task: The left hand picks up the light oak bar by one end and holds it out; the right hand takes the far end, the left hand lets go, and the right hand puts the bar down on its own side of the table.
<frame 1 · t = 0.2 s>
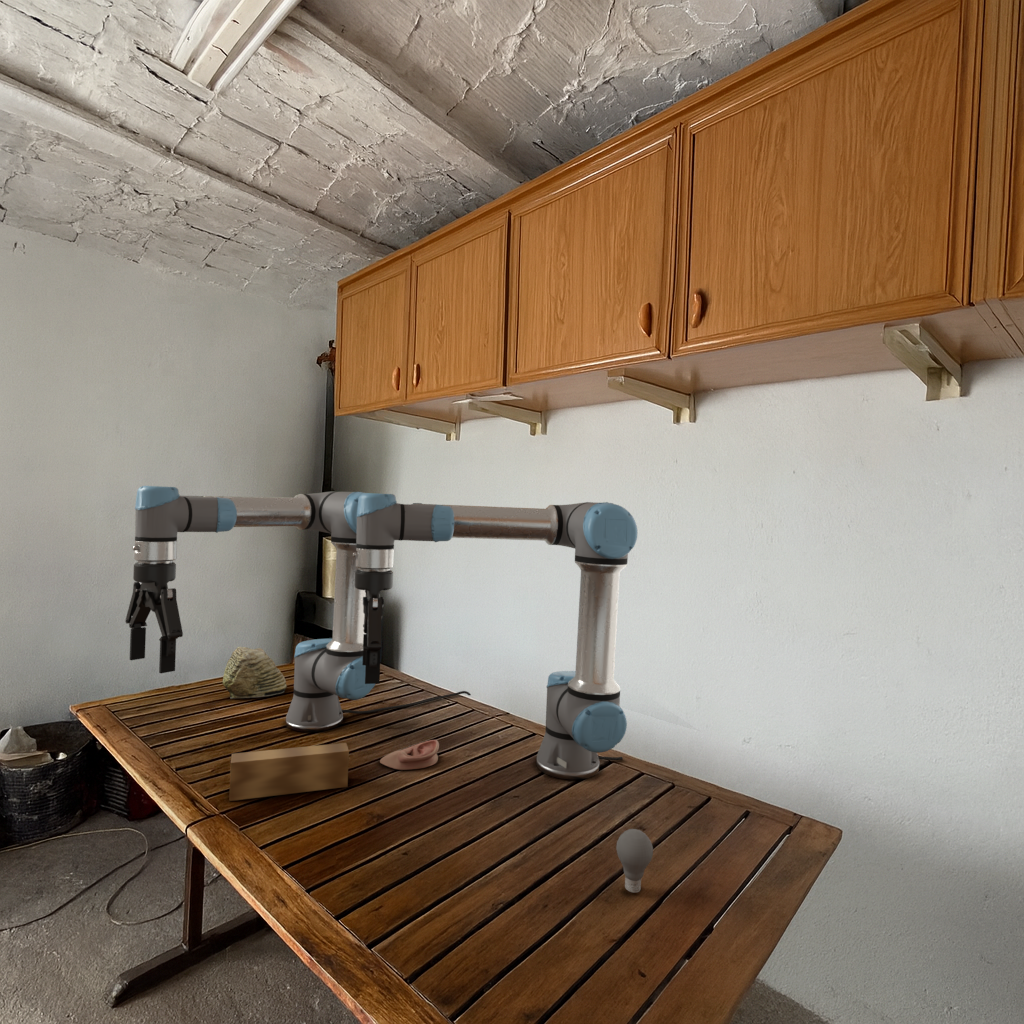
left hand: (151, 665, 129), 27 cm above the table, tool pointing down, fingers open, 13 cm apart
right hand: (370, 673, 129), 28 cm above the table, tool pointing down, fingers open, 13 cm apart
anatomical model: (409, 761, 154), on the table
bar: (289, 788, 137), on the table
fossil: (254, 694, 198), on the table
light bulb: (632, 891, 106), on the table
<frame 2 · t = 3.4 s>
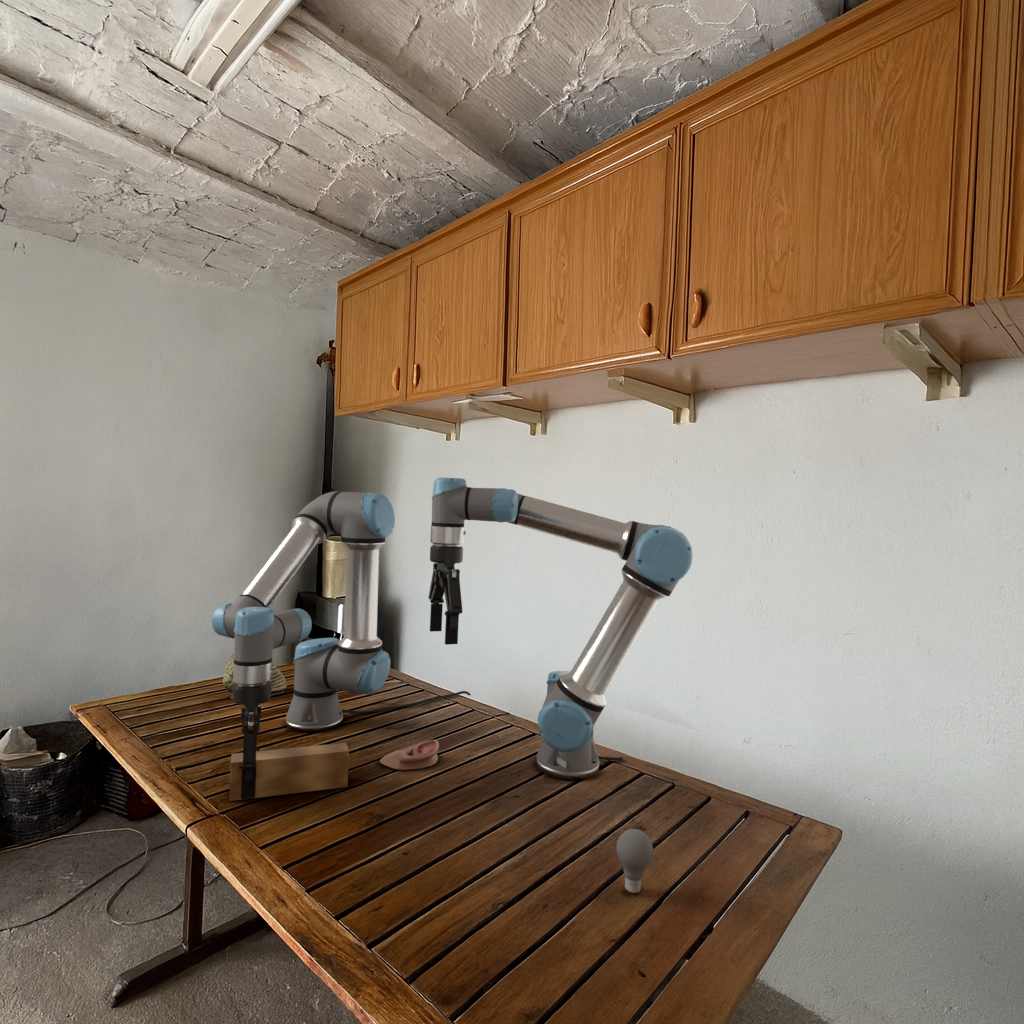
left hand: (248, 791, 134), 1 cm above the table, tool pointing down, fingers closed on bar, 5 cm apart
right hand: (443, 637, 145), 32 cm above the table, tool pointing down, fingers open, 13 cm apart
bar: (289, 788, 137), on the table, touching left hand
everything else where it was.
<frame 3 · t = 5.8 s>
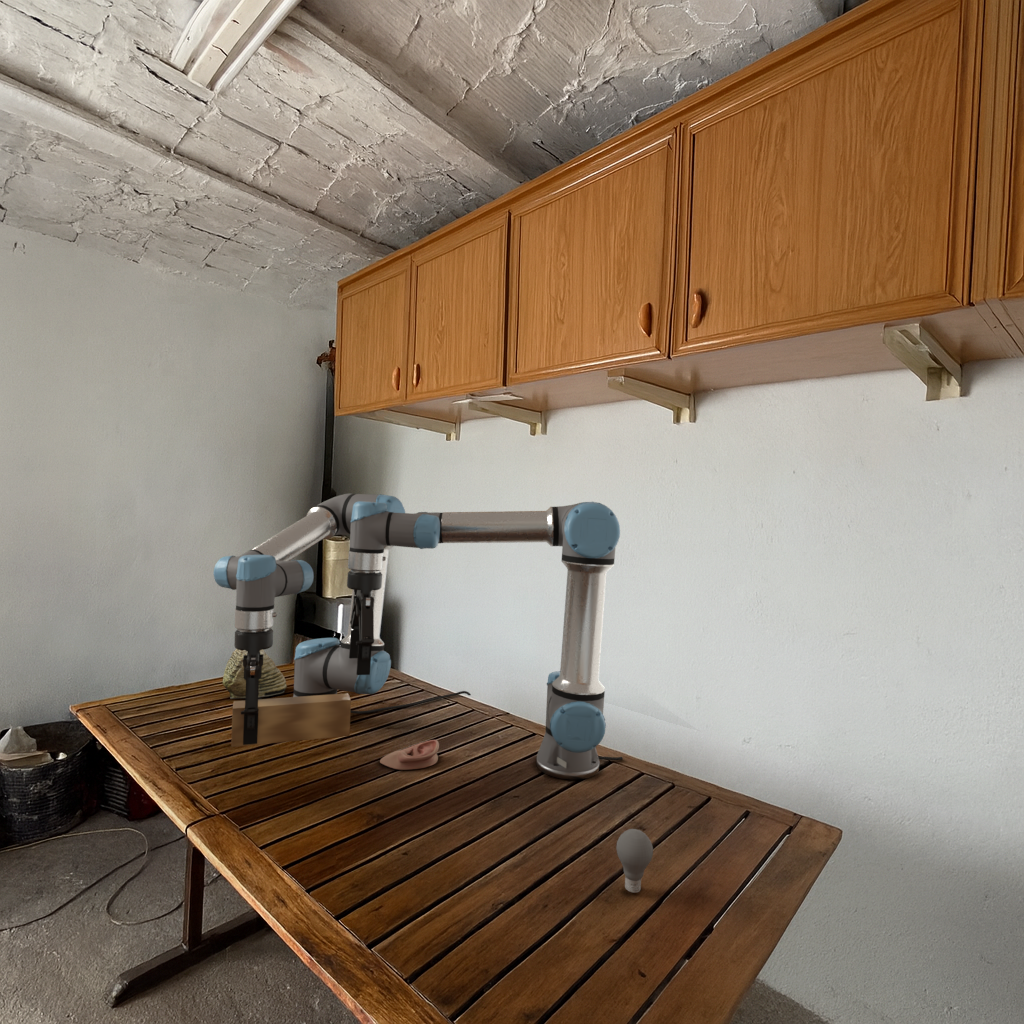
left hand: (250, 738, 134), 12 cm above the table, tool pointing down, fingers closed on bar, 5 cm apart
right hand: (359, 666, 141), 26 cm above the table, tool pointing down, fingers open, 13 cm apart
bar: (291, 737, 137), point 11 cm above the table, touching left hand
everything else where it was.
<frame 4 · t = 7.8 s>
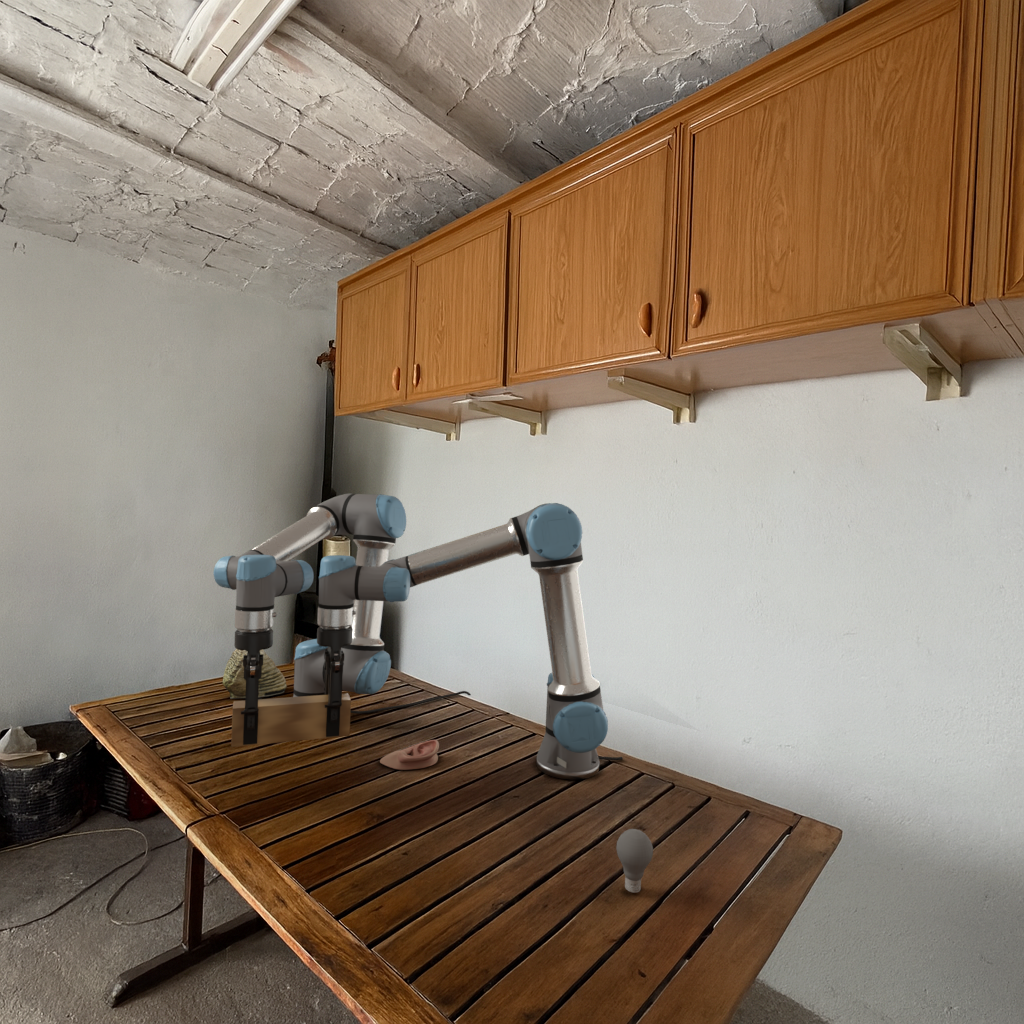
left hand: (250, 738, 134), 12 cm above the table, tool pointing down, fingers closed on bar, 5 cm apart
right hand: (331, 731, 140), 12 cm above the table, tool pointing down, fingers closed on bar, 5 cm apart
bar: (291, 737, 137), point 11 cm above the table, touching left hand, right hand
everything else where it was.
when the left hand's fingers open (12 cm above the table, at t = 8.6 s): bar stays where it is, held by the right hand.
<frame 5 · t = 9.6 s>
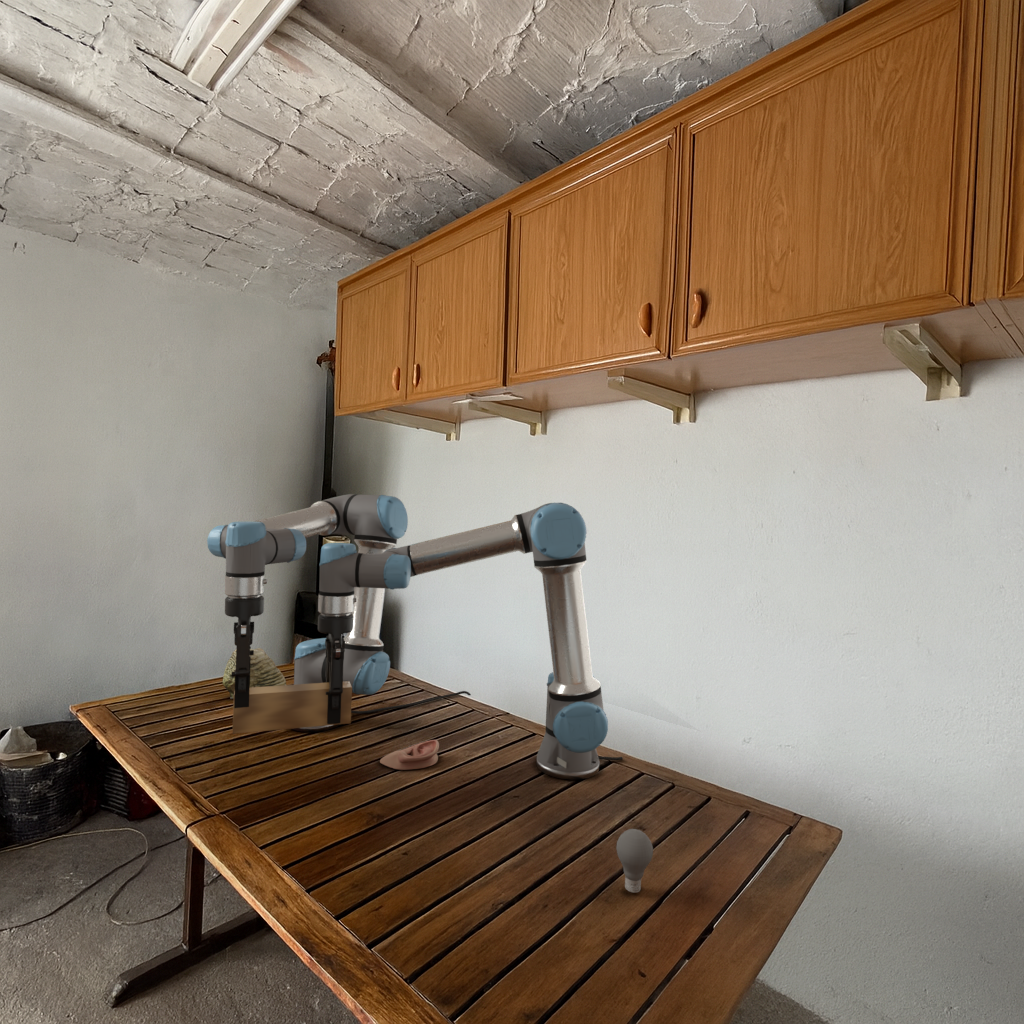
left hand: (242, 696, 133), 21 cm above the table, tool pointing down, fingers open, 13 cm apart
right hand: (332, 718, 139), 15 cm above the table, tool pointing down, fingers closed on bar, 5 cm apart
bar: (293, 724, 137), point 14 cm above the table, touching right hand
everything else where it was.
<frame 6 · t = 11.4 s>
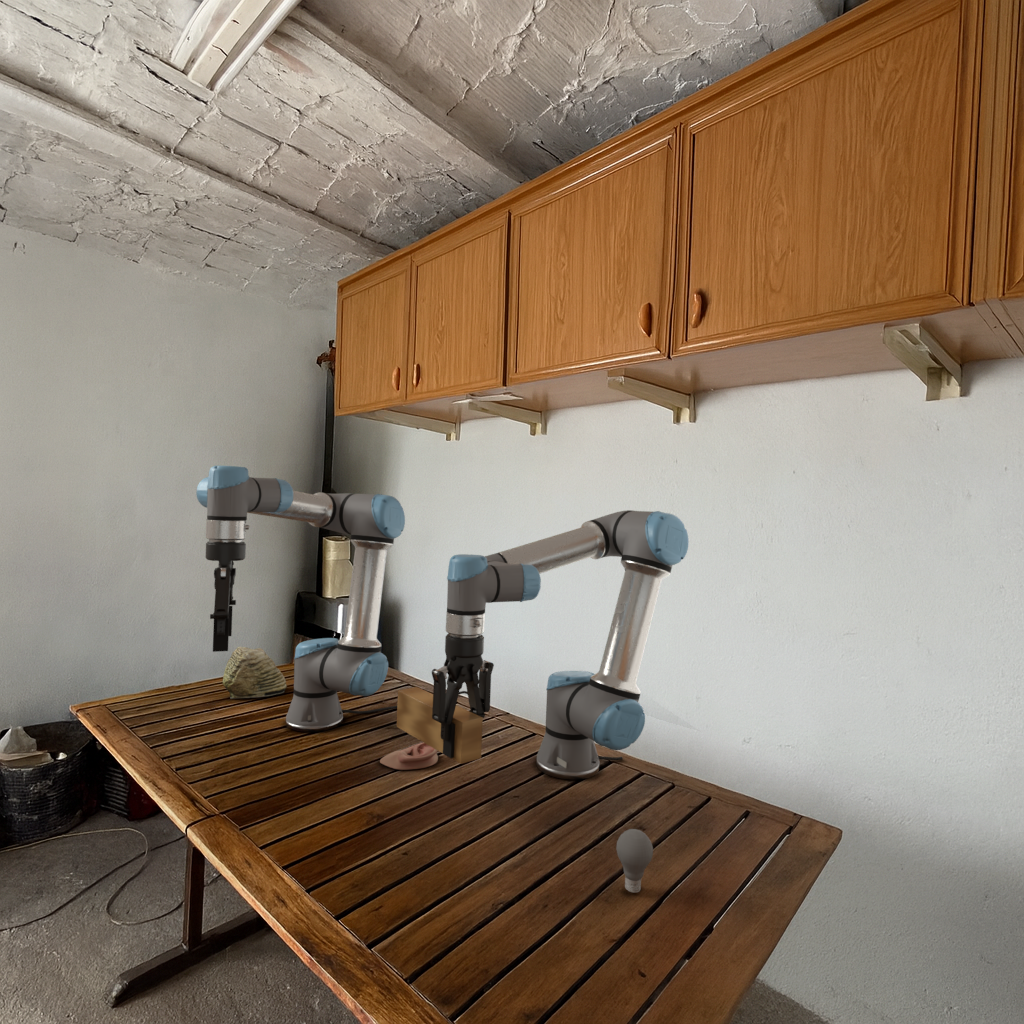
left hand: (222, 643, 131), 32 cm above the table, tool pointing down, fingers open, 13 cm apart
right hand: (460, 752, 124), 15 cm above the table, tool pointing down, fingers closed on bar, 5 cm apart
bar: (436, 741, 130), point 14 cm above the table, touching right hand
everything else where it was.
when the right hand's fingers open (2 cm above the table, at t = 13.1 s): bar drops 1 cm, on the table.
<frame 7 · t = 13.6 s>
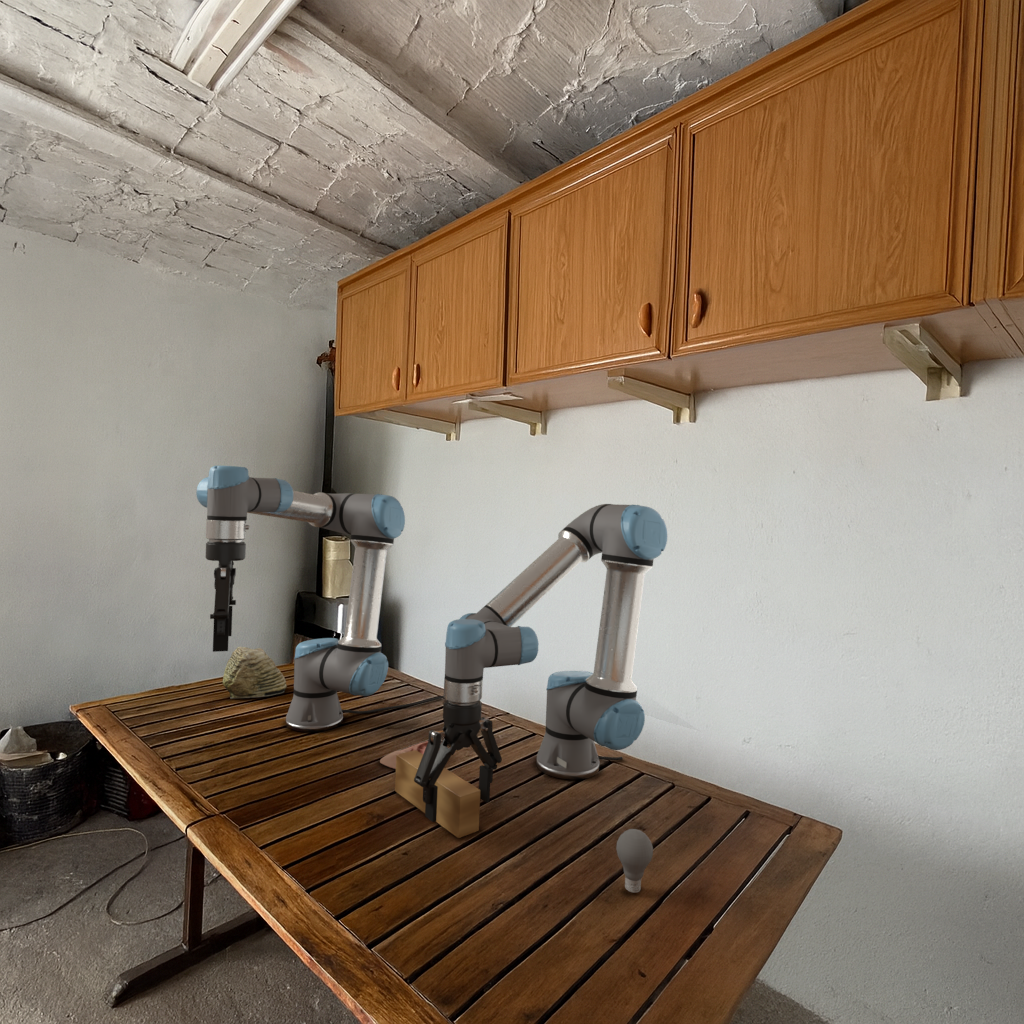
left hand: (222, 643, 131), 32 cm above the table, tool pointing down, fingers open, 13 cm apart
right hand: (458, 809, 124), 3 cm above the table, tool pointing down, fingers open, 12 cm apart
bar: (434, 809, 130), on the table
everything else where it was.
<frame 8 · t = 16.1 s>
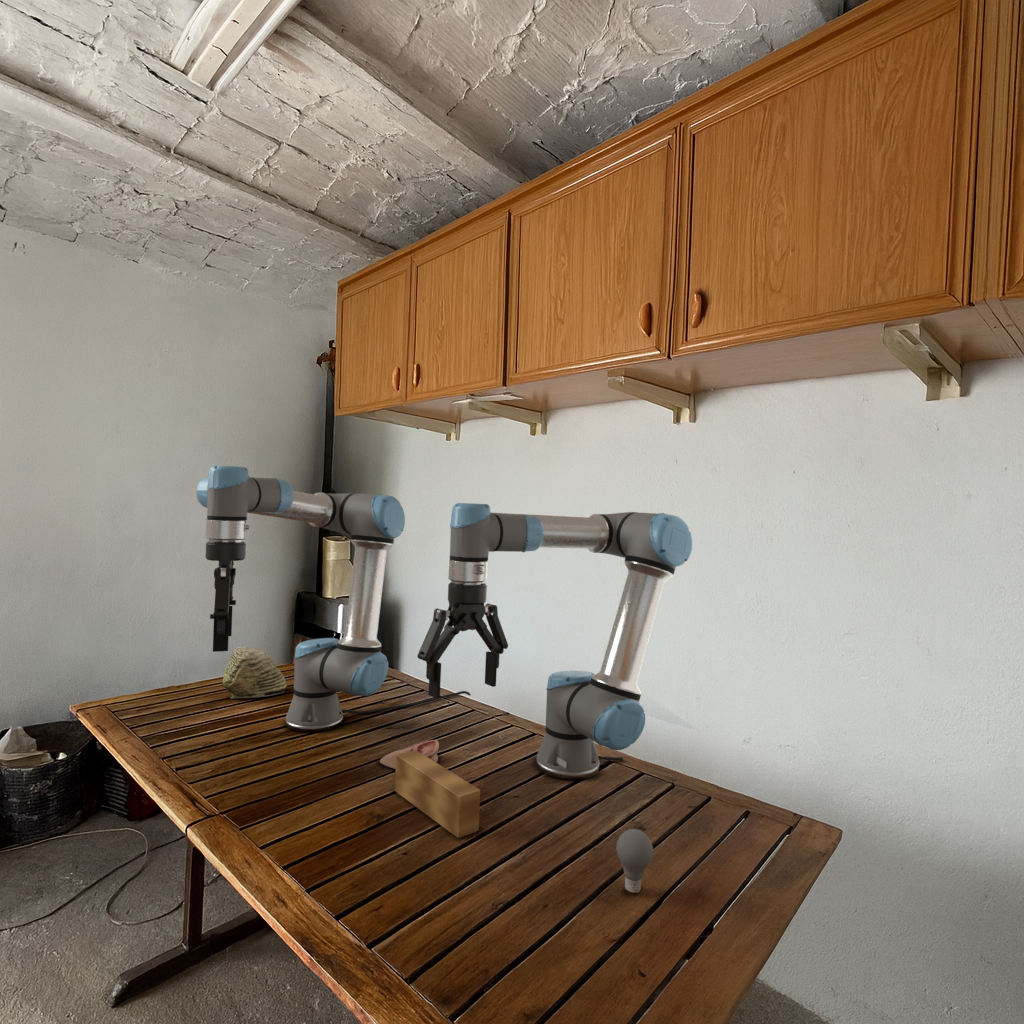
left hand: (222, 643, 131), 32 cm above the table, tool pointing down, fingers open, 13 cm apart
right hand: (463, 690, 124), 27 cm above the table, tool pointing down, fingers open, 13 cm apart
nothing on the table moved.
at the end: bar inside the target area (8.2 cm from its centre), on the table; the left hand is holding nothing; the right hand is holding nothing; bar at rest at the end (0.0 cm/s) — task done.
